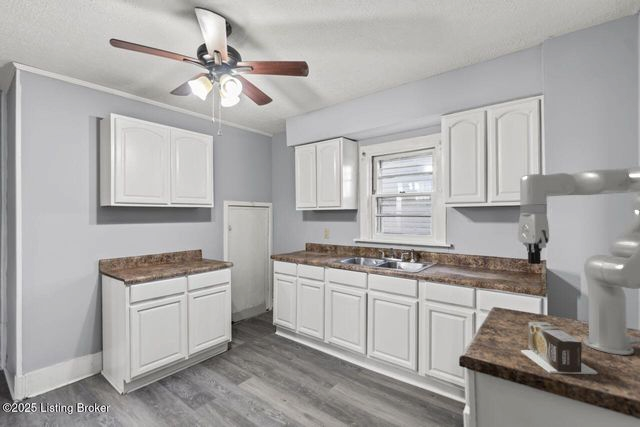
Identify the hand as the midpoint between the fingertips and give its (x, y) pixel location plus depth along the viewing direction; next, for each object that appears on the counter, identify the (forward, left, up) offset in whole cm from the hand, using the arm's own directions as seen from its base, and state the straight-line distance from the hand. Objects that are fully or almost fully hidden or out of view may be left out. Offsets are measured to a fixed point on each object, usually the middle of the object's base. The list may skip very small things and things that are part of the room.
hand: (534, 263), depth 105 cm
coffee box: (0, +1, -24) cm, 24 cm away
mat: (0, +10, -29) cm, 31 cm away
